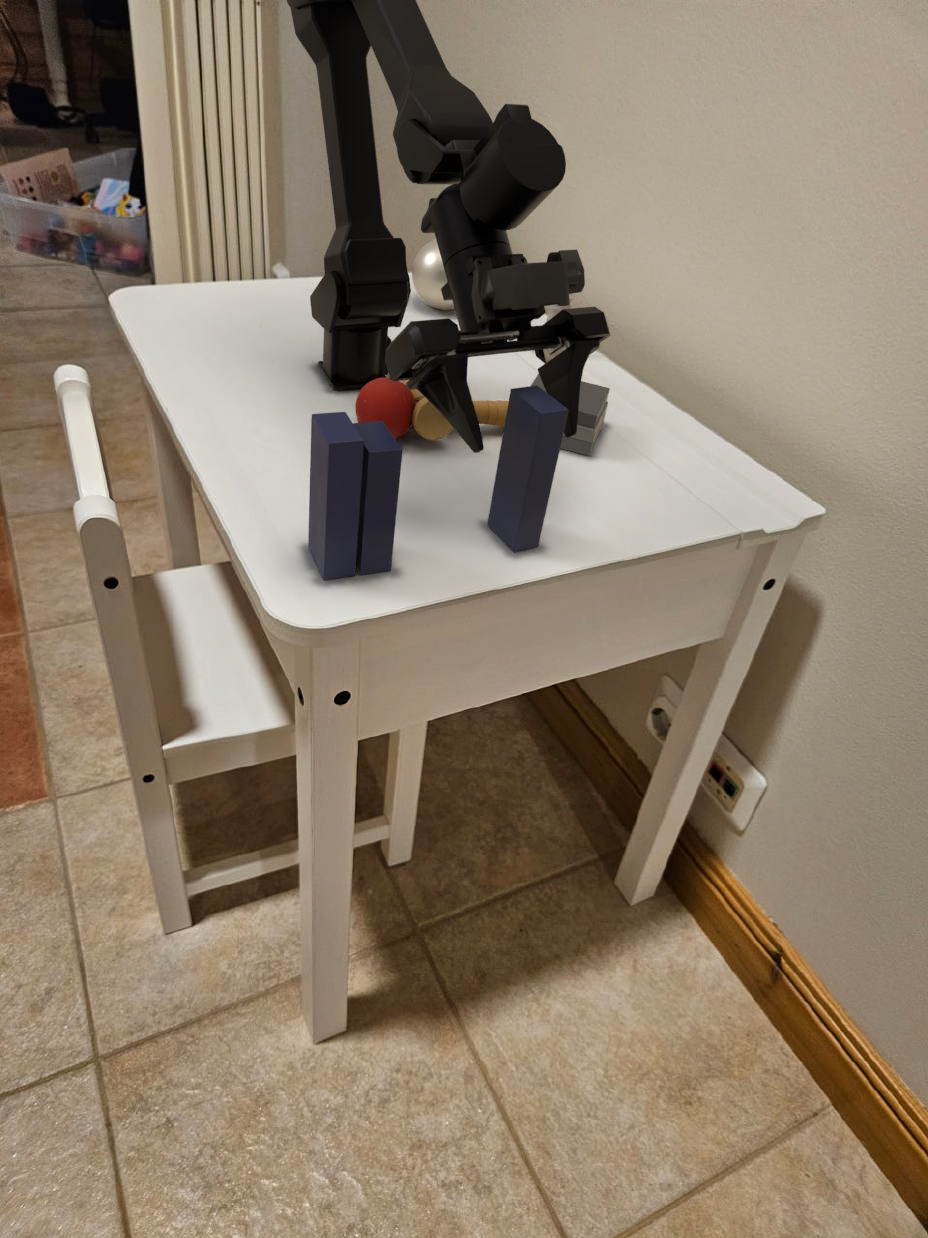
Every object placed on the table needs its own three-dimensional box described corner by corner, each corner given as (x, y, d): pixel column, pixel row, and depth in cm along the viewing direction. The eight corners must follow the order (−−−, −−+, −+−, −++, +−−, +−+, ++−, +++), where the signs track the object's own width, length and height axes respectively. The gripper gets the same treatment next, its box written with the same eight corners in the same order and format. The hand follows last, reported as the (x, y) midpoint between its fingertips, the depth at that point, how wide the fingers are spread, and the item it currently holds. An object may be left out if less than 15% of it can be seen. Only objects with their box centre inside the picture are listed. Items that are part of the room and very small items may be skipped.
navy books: (323, 580, 69) (328, 443, 61) (307, 548, 72) (311, 413, 65) (391, 571, 71) (404, 436, 64) (373, 540, 74) (383, 408, 67)
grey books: (515, 436, 92) (522, 397, 90) (533, 407, 99) (540, 369, 96) (589, 456, 91) (598, 417, 88) (602, 425, 97) (612, 387, 95)
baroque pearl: (490, 311, 120) (501, 235, 114) (443, 324, 114) (453, 244, 108) (441, 290, 125) (450, 215, 118) (394, 301, 118) (400, 223, 112)
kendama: (499, 419, 98) (341, 407, 90) (518, 370, 93) (354, 353, 86) (522, 464, 93) (358, 455, 86) (544, 414, 89) (373, 400, 81)
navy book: (513, 552, 75) (541, 413, 67) (486, 525, 78) (510, 388, 70) (538, 547, 77) (569, 409, 69) (510, 519, 80) (537, 384, 71)
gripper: (416, 208, 61) (475, 427, 61) (625, 205, 70) (676, 397, 70) (361, 282, 71) (411, 470, 71) (550, 272, 79) (594, 439, 79)
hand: (526, 443), depth 72 cm, fingers open, 9 cm apart
